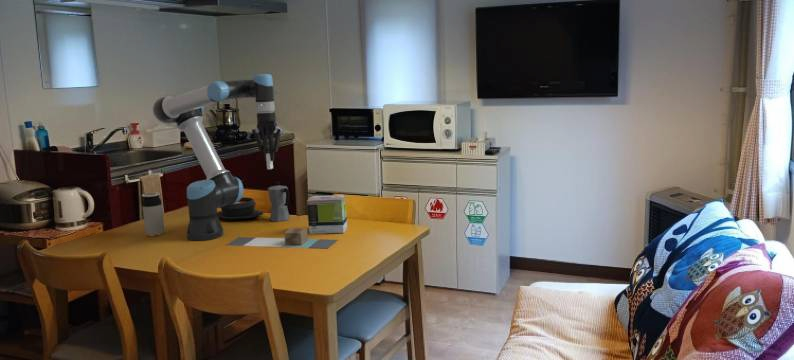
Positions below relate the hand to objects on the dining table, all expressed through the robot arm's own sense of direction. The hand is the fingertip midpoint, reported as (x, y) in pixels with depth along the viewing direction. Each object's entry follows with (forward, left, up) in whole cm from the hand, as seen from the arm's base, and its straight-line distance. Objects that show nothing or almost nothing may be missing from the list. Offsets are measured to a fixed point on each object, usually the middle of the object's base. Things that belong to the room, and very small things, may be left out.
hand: (270, 168), depth 275 cm
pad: (+16, -12, -28) cm, 35 cm away
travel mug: (-55, -4, -29) cm, 62 cm away
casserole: (-31, +28, -29) cm, 51 cm away
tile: (+2, -12, -28) cm, 31 cm away
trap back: (-10, -12, -28) cm, 32 cm away
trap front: (+26, -12, -28) cm, 40 cm away
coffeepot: (-8, +25, -29) cm, 39 cm away
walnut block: (+15, -12, -28) cm, 34 cm away
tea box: (+21, +8, -29) cm, 36 cm away
